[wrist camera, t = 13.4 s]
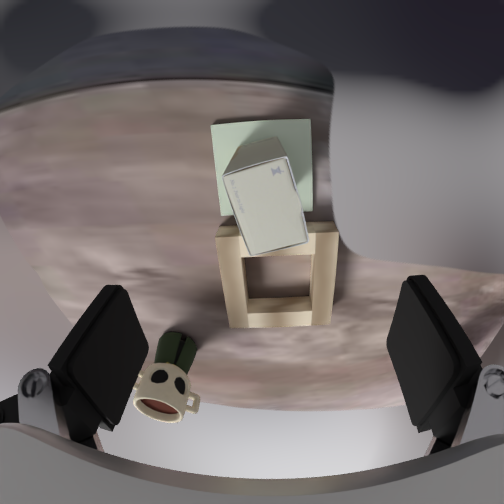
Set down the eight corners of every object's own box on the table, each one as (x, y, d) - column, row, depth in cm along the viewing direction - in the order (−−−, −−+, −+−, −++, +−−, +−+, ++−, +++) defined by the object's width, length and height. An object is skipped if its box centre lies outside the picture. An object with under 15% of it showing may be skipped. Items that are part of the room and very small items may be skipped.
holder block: (333, 221, 31) (338, 232, 28) (326, 309, 37) (329, 324, 35) (219, 226, 32) (215, 237, 29) (232, 313, 38) (229, 328, 36)
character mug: (218, 345, 42) (205, 417, 30) (200, 367, 45) (186, 432, 33) (154, 314, 40) (123, 383, 28) (142, 340, 43) (116, 402, 31)
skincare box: (236, 146, 27) (216, 171, 16) (279, 134, 26) (287, 151, 16) (254, 202, 30) (246, 259, 19) (294, 191, 29) (311, 244, 18)
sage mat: (309, 118, 26) (310, 119, 25) (311, 209, 31) (312, 211, 30) (211, 125, 27) (210, 125, 26) (222, 213, 31) (221, 215, 31)
